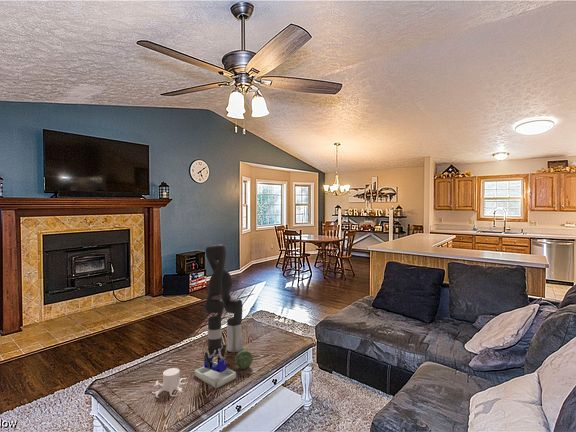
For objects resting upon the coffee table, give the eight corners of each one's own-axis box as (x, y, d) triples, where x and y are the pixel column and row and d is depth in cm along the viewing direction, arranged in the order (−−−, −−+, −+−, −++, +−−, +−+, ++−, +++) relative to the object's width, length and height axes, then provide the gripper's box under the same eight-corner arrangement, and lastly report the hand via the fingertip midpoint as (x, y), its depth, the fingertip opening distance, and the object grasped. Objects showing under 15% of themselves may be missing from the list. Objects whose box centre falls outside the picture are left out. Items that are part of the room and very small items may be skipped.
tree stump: (196, 377, 173) (196, 363, 173) (181, 399, 154) (181, 382, 154) (161, 376, 175) (161, 361, 175) (142, 396, 156) (142, 380, 156)
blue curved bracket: (226, 369, 172) (226, 358, 172) (220, 372, 168) (220, 361, 168) (210, 363, 178) (209, 353, 178) (204, 367, 174) (204, 356, 174)
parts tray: (215, 366, 185) (215, 361, 185) (236, 378, 172) (236, 372, 172) (194, 375, 175) (194, 370, 175) (215, 388, 162) (215, 383, 162)
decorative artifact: (251, 365, 187) (251, 348, 186) (254, 370, 180) (254, 353, 180) (234, 368, 183) (234, 351, 183) (237, 374, 176) (237, 356, 176)
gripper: (221, 330, 181) (221, 360, 181) (199, 338, 170) (199, 369, 170) (229, 334, 176) (229, 364, 176) (207, 342, 165) (207, 374, 165)
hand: (214, 366), depth 173 cm, fingers closed on blue curved bracket, 5 cm apart
